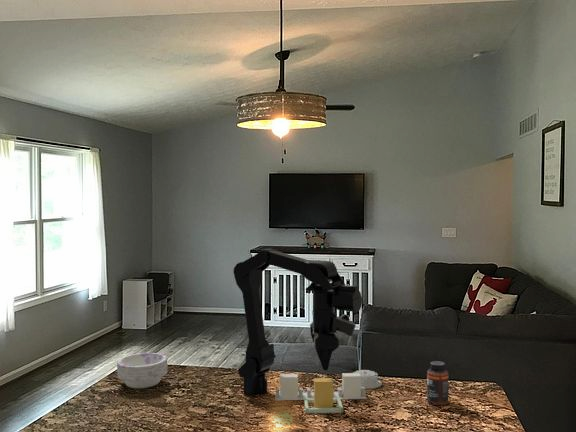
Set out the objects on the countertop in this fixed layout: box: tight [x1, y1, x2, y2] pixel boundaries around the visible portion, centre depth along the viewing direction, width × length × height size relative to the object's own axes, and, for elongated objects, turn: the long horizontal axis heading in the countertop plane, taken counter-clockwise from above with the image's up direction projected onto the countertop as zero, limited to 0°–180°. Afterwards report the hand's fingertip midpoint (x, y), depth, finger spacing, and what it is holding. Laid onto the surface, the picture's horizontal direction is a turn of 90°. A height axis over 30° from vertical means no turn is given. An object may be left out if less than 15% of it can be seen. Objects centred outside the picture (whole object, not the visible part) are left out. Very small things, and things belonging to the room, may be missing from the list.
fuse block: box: [274, 386, 368, 401], centre depth 170 cm, size 26×6×3 cm, turn 92°
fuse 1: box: [279, 373, 299, 398], centre depth 169 cm, size 5×3×6 cm, turn 92°
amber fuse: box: [313, 377, 334, 408], centre depth 161 cm, size 5×3×8 cm, turn 92°
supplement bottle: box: [426, 360, 450, 406], centre depth 167 cm, size 6×6×11 cm
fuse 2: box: [341, 372, 361, 397], centre depth 170 cm, size 5×3×6 cm, turn 92°
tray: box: [303, 398, 345, 414], centre depth 161 cm, size 10×8×2 cm
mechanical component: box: [352, 369, 383, 390], centre depth 181 cm, size 10×4×10 cm
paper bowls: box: [116, 352, 168, 389], centre depth 183 cm, size 15×15×8 cm
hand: (323, 365), depth 160 cm, fingers open, 9 cm apart
